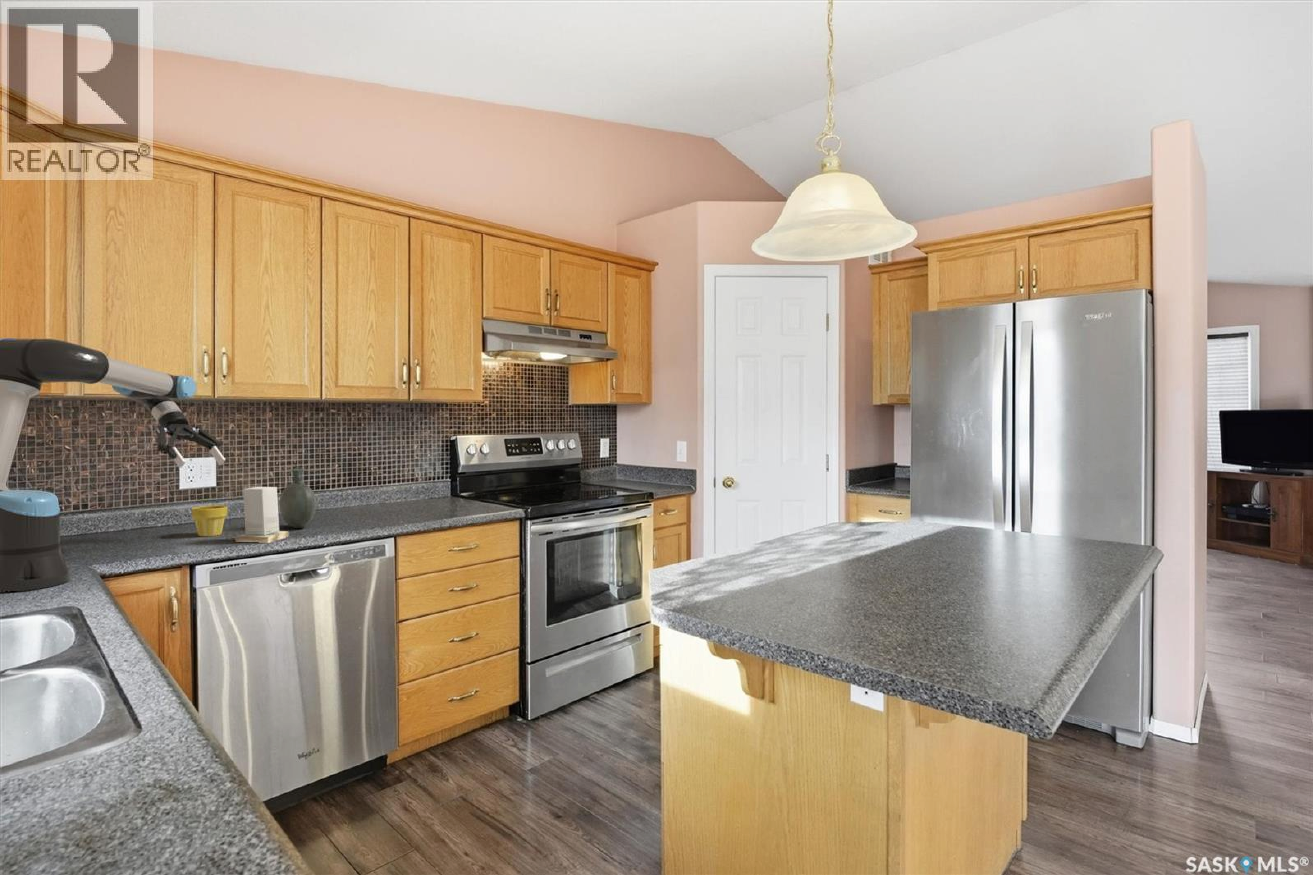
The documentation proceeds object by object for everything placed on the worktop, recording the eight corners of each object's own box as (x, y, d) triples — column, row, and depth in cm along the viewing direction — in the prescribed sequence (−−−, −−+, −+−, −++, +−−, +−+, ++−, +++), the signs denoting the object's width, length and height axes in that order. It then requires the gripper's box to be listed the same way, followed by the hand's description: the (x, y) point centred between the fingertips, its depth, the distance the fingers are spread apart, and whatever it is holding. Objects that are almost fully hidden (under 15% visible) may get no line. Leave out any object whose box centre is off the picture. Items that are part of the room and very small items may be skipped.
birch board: (267, 543, 215) (267, 536, 215) (235, 542, 216) (235, 536, 216) (288, 536, 226) (288, 530, 226) (258, 536, 227) (258, 530, 227)
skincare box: (279, 532, 223) (278, 486, 222) (263, 536, 216) (262, 489, 216) (260, 531, 225) (259, 485, 224) (243, 534, 219) (242, 488, 218)
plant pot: (218, 531, 237) (217, 504, 236) (233, 533, 231) (233, 506, 231) (186, 535, 228) (185, 507, 227) (201, 538, 222) (200, 510, 222)
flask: (282, 532, 234) (281, 471, 233) (278, 525, 248) (277, 467, 247) (318, 529, 240) (317, 469, 239) (313, 522, 254) (312, 466, 254)
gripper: (200, 425, 234) (232, 468, 229) (124, 425, 210) (158, 473, 205) (211, 410, 232) (243, 454, 227) (136, 409, 208) (170, 457, 204)
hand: (203, 463), depth 216 cm, fingers open, 13 cm apart
